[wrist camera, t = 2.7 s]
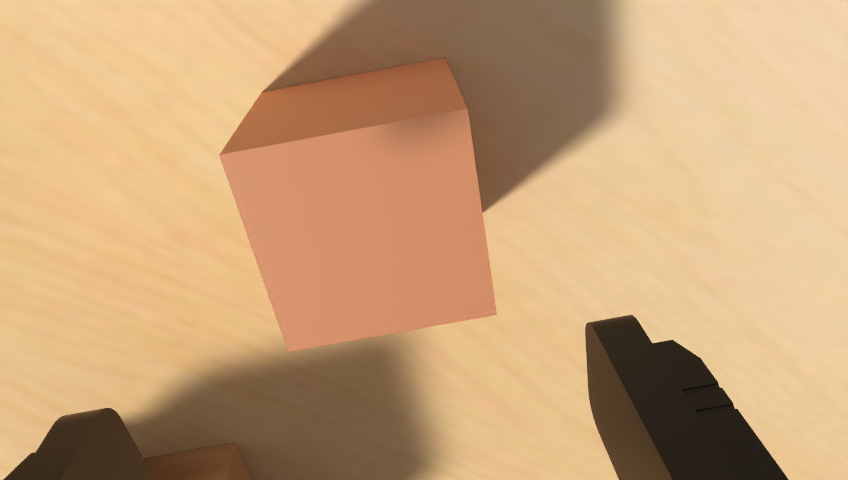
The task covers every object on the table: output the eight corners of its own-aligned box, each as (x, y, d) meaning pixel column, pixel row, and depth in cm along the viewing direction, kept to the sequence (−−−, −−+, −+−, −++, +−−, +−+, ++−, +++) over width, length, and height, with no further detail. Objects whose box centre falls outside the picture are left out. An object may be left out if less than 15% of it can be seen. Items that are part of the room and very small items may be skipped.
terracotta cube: (444, 56, 20) (467, 108, 14) (469, 220, 23) (496, 314, 17) (262, 91, 20) (219, 154, 15) (310, 249, 23) (288, 351, 17)
